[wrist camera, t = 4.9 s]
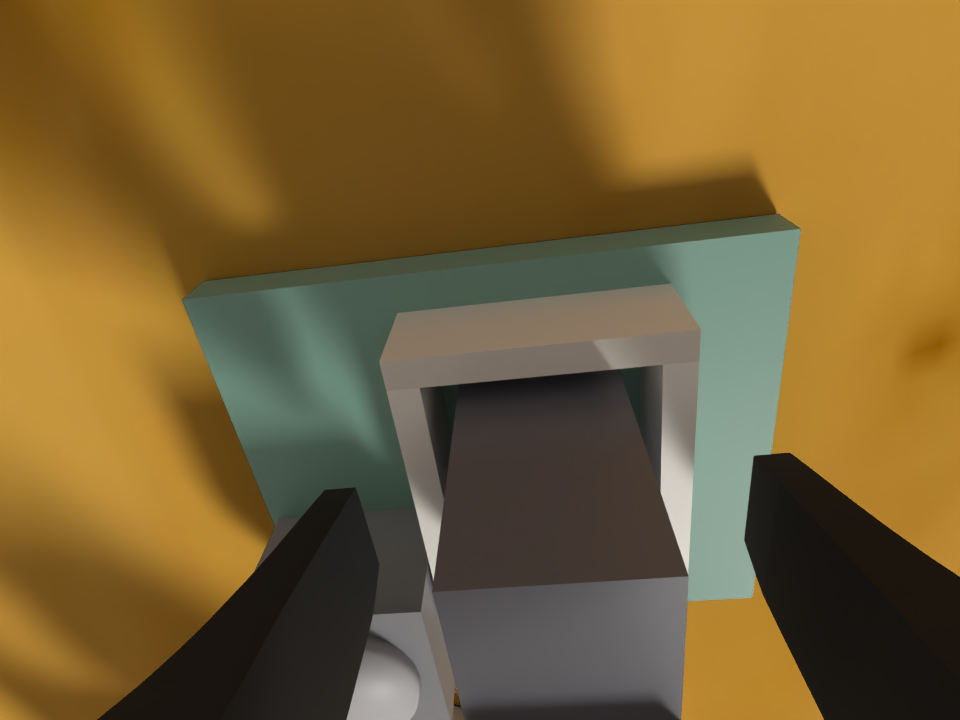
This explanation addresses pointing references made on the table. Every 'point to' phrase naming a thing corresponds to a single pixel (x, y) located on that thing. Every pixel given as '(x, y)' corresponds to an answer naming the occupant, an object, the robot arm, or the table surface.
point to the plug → (558, 557)
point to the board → (491, 357)
